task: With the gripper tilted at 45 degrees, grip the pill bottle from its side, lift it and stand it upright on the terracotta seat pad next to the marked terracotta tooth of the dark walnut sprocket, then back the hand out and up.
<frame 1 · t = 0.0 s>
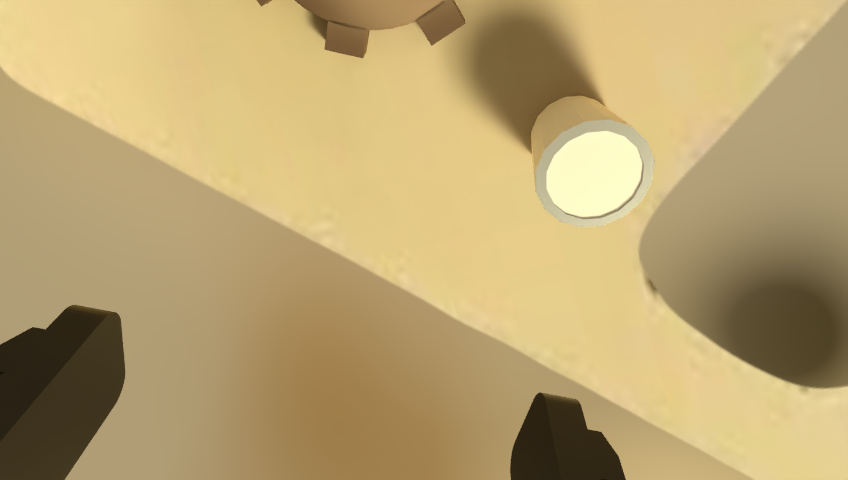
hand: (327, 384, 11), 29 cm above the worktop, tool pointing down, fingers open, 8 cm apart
white cylinder: (571, 134, 39), on the worktop
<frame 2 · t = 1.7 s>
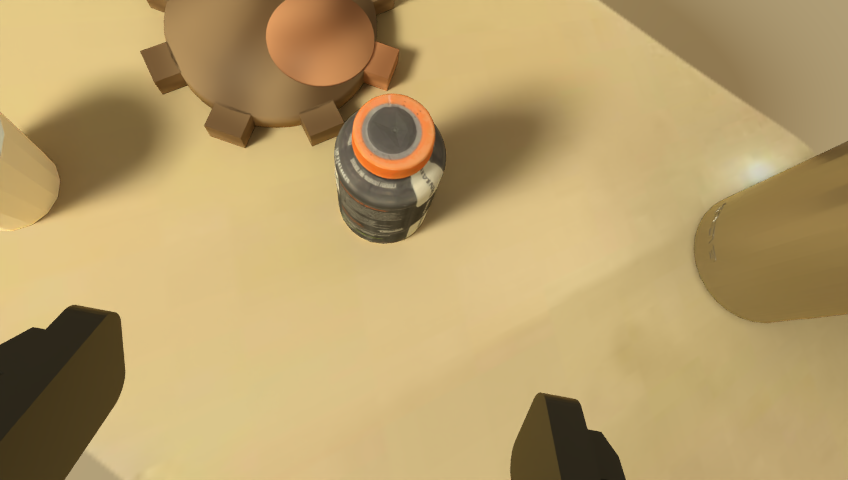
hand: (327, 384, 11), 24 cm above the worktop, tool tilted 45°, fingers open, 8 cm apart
pill bottle: (383, 202, 37), on the worktop
sprocket: (276, 35, 39), on the worktop
white cylinder: (13, 188, 35), on the worktop
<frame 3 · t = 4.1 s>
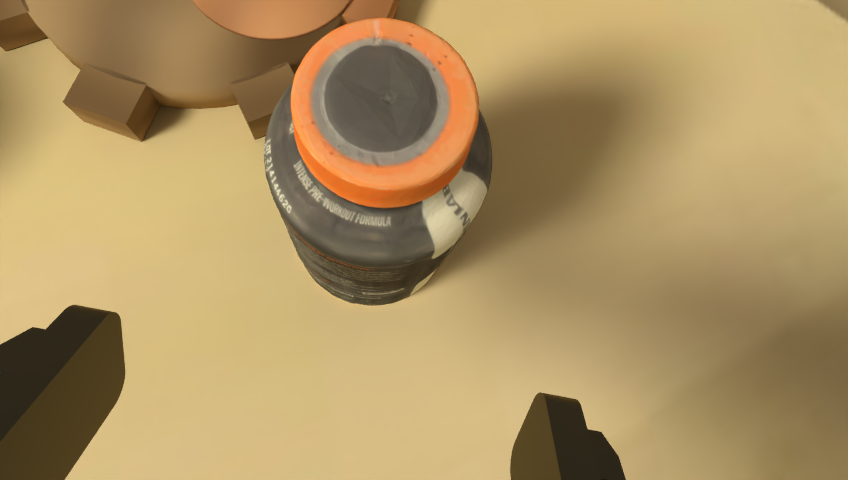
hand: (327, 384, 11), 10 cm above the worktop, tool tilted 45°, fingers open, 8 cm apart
pill bottle: (371, 234, 23), on the worktop
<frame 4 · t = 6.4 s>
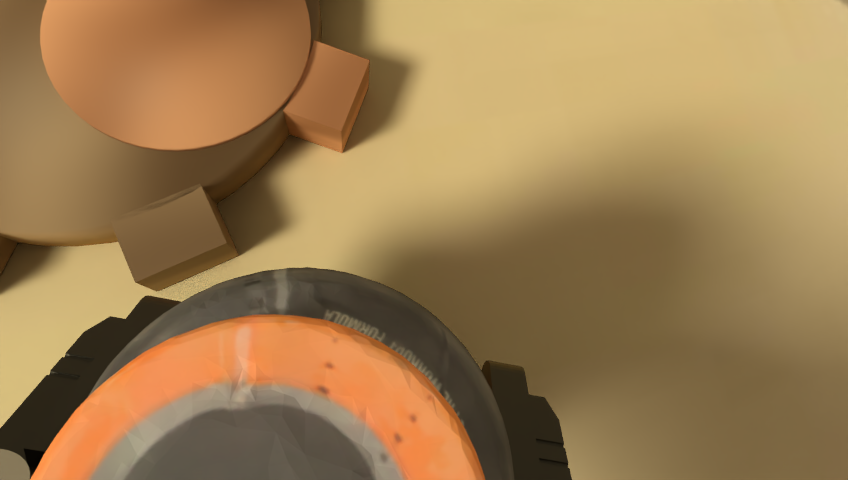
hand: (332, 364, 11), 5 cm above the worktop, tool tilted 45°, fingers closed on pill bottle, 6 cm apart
pill bottle: (326, 430, 15), on the worktop, touching gripper
sprocket: (91, 25, 17), on the worktop
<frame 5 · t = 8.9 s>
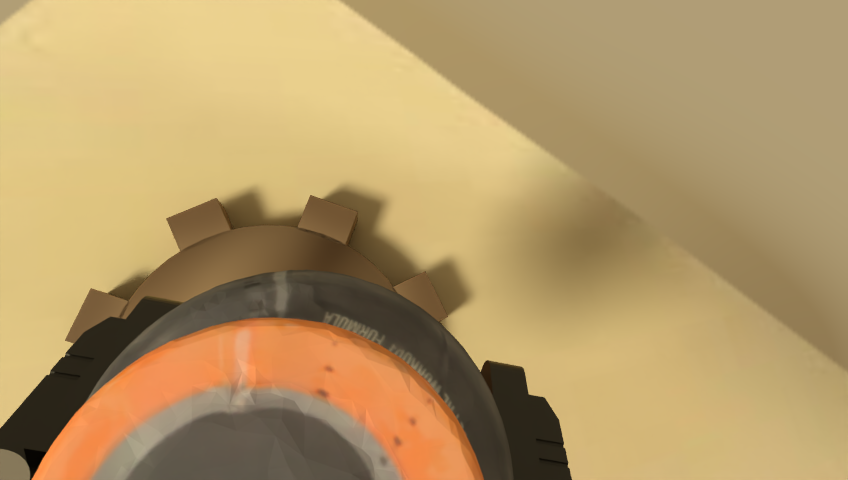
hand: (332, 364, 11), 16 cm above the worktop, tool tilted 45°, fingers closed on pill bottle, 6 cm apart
pill bottle: (326, 431, 15), point 11 cm above the worktop, touching gripper
sprocket: (270, 377, 26), on the worktop
when the fingers open (8 cm above the worktop, at t = 11.3 s): pill bottle drops 1 cm, resting on sprocket.
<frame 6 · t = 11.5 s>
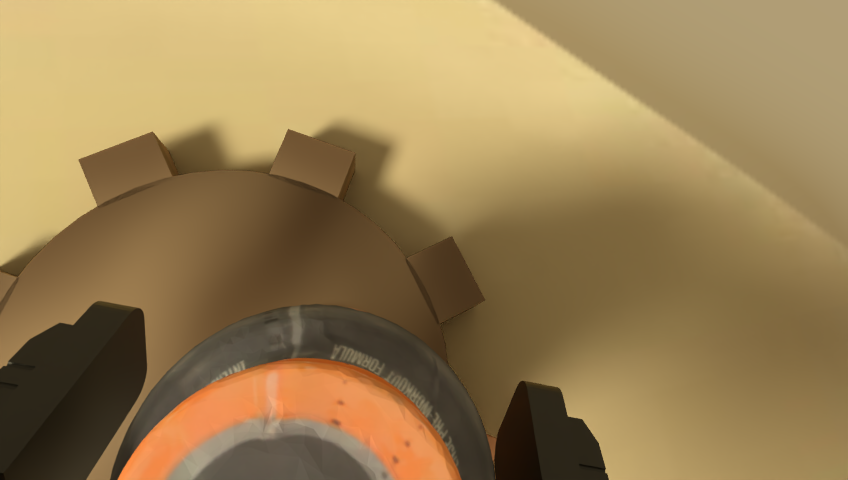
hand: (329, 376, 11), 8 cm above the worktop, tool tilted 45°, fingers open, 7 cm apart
pill bottle: (331, 434, 17), point 2 cm above the worktop, touching sprocket
sprocket: (231, 388, 18), on the worktop
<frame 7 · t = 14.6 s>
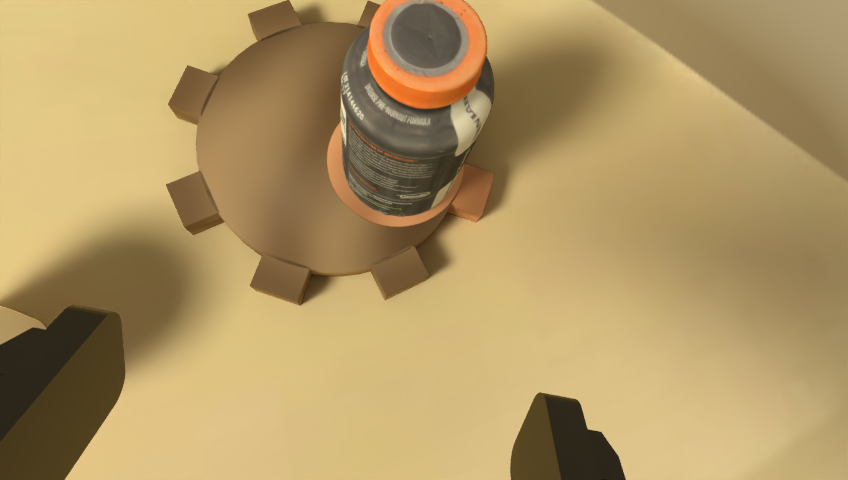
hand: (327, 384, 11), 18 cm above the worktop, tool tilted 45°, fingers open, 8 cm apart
pill bottle: (398, 165, 29), point 2 cm above the worktop, touching sprocket
sprocket: (336, 151, 31), on the worktop
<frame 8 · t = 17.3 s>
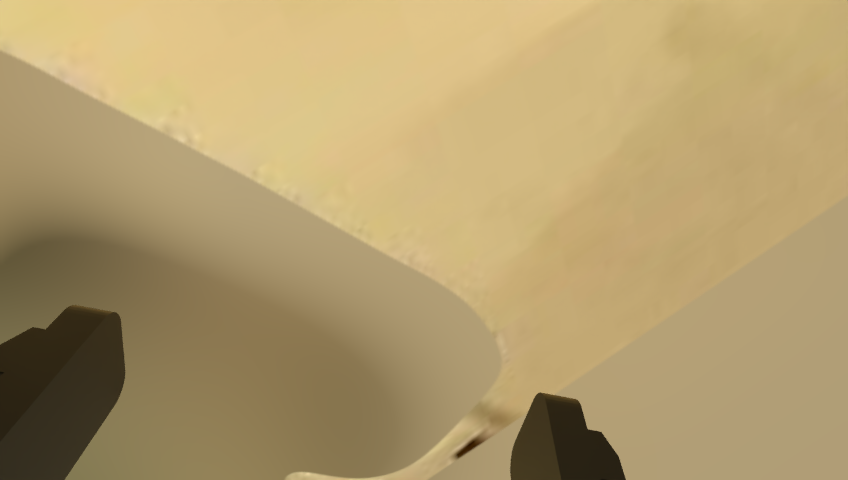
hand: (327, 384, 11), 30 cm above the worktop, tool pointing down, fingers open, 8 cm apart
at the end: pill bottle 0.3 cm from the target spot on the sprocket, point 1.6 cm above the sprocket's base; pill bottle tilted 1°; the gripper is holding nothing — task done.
